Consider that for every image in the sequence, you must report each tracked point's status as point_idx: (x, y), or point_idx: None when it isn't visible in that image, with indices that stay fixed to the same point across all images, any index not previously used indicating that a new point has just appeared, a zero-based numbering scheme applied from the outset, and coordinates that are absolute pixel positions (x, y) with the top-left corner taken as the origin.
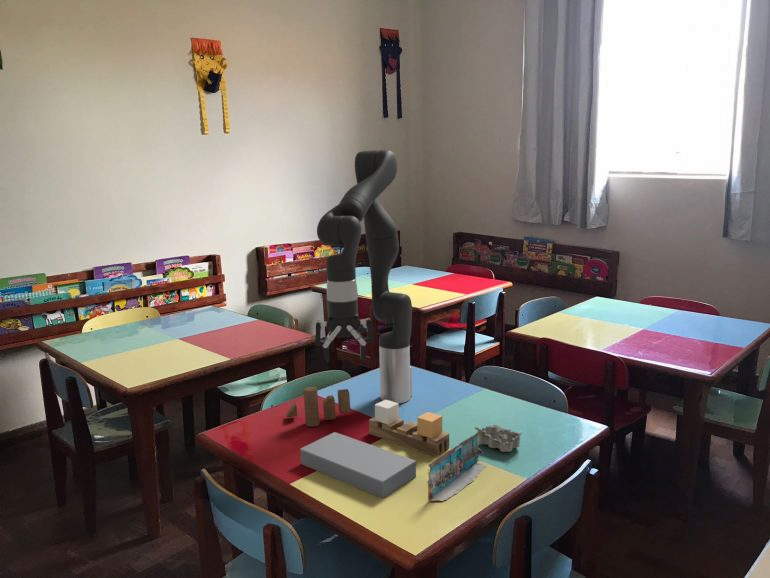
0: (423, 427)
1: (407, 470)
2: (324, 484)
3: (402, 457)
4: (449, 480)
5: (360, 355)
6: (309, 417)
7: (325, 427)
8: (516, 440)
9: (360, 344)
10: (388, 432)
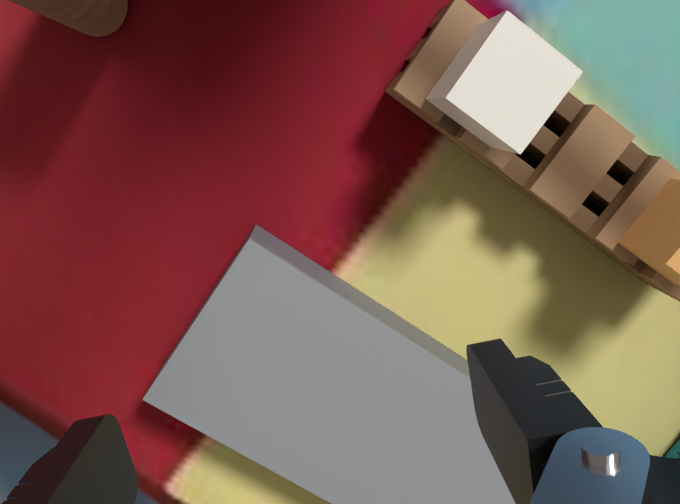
0: (665, 270)
1: None
2: (276, 484)
3: None
4: None
5: (475, 368)
6: (69, 26)
7: (167, 25)
8: None
9: (536, 475)
10: (481, 157)
